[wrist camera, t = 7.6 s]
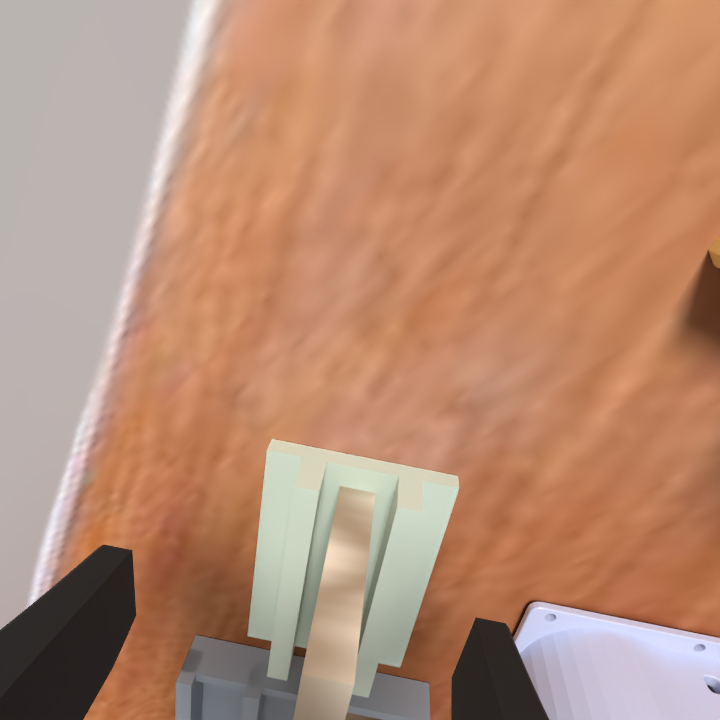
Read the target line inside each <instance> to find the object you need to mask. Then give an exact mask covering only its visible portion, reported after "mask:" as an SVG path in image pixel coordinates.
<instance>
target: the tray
mask: <svg viewBox="0 0 720 720" xmlns="http://www.w3.org/2000/svg"><path fill="white" fill-rule="evenodd" d="M269 657H270V650H266V649H261V648H257V647H252V646H247V645H242V644H237V643H232V642H227V641H223V640H218V639H213V638H208V637H203V636H198V635H196V636H195V638H194V640H193V643H192V645H191V648H190V650H189V652H188V655H187V657H186V659H185V662H184V664H183V667H182V669H181V671H180V674H179V676H178V678H177V681H176V720H293V717H294V712H295V707H296V701H297V696H298V691H299V686H300V680H301V675H302V670H303V665H304V660H305V657H300V656H295V655H293V657H292V661H291V666H290V670H289V675H288V679H287V681H285V680H280V679H276V678H271V677H267V672H268V665H269ZM347 712H348V713H353V714H358V715H362V716H367V717H372V718H377V719H382V720H430V690H429V683H426V682H421V681H417V680H412V679H407V678H402V677H397V676H392V675H388V674H383V673H378V672H376V674H375V677H374V680H373V684H372V687H371V691H370V694H369V697H368V698H367V697H363V696H358V695H353V694H352V696H351V699H350V703H349V707H348V710H347Z"/></svg>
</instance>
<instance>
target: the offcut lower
mask: <svg viewBox="0 0 720 720" xmlns="http://www.w3.org/2000/svg"><path fill="white" fill-rule="evenodd" d="M345 720H382V719H377V718H372V717H367V716H362V715H358V714H353V713H348V712H347V714H346V718H345Z"/></svg>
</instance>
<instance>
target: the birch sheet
mask: <svg viewBox="0 0 720 720" xmlns="http://www.w3.org/2000/svg"><path fill="white" fill-rule="evenodd" d="M374 502H375V493H373V492H368V491H363V490H358V489H353V488H348V487H343V486H340V490H339V495H338V499H337V504H336V509H335V514H334V519H333V524H332V529H331V534H330V538H329V543H328V548H327V553H326V558H325V563H324V568H323V573H322V577H321V582H320V587H319V592H318V597H317V602H316V607H315V612H314V616H313V621H312V626H311V631H310V636H309V641H308V646H307V651H306V656H305V660H304V665H303V670H302V675H301V680H300V686H299V691H298V696H297V701H296V707H295V712H294V717H293V720H345V718H346V714H347V710H348V707H349V703H350V699H351V696H352V692H353V688H354V683H355V674H356V665H357V656H358V647H359V638H360V629H361V620H362V611H363V602H364V593H365V583H366V574H367V565H368V556H369V547H370V538H371V529H372V520H373V511H374Z"/></svg>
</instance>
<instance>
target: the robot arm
mask: <svg viewBox="0 0 720 720" xmlns="http://www.w3.org/2000/svg"><path fill="white" fill-rule="evenodd" d="M135 617H136V606H135V589H134V572H133V556H132V550H128V549H123V548H118V547H113V546H108V545H102V546H101V547H99V548H98V549H96V550H95V551H94V552H93V553H92V554H91V555H90V556H88V557H87V558H86V559H85V560H84V561H83V562H81V563H80V564H79V565H78V566H77V567H76V568H75V569H73V570H72V571H71V572H70V573H69V574H68V575H66V576H65V577H64V578H63V579H62V580H61V581H59V582H58V583H57V584H56V585H55V586H53V587H52V588H51V589H50V590H49V591H47V592H46V593H45V594H44V595H43V596H42V597H40V598H39V599H38V600H37V601H36V602H34V603H33V604H32V605H31V606H29V607H28V608H27V609H26V610H24V611H23V612H22V613H21V614H20V615H18V616H17V617H16V618H15V619H14V620H12V621H11V622H10V623H9V624H7V625H6V626H5V627H3V628H2V629H1V630H0V720H83V719H84V717H85V715H86V714H87V712H88V710H89V708H90V707H91V705H92V703H93V701H94V700H95V698H96V696H97V694H98V693H99V691H100V689H101V687H102V686H103V684H104V682H105V680H106V679H107V677H108V675H109V673H110V671H111V670H112V668H113V666H114V664H115V661H116V659H117V657H118V655H119V653H120V651H121V648H122V646H123V644H124V642H125V639H126V637H127V635H128V633H129V630H130V628H131V626H132V623H133V621H134V619H135ZM452 720H720V638H717V637H712V636H707V635H703V634H698V633H693V632H688V631H683V630H678V629H673V628H668V627H663V626H658V625H653V624H648V623H643V622H638V621H634V620H629V619H624V618H619V617H614V616H609V615H604V614H599V613H594V612H589V611H584V610H579V609H574V608H569V607H565V606H560V605H555V604H550V603H545V602H533V603H531V604H530V605H529V606H528V608H527V610H526V612H525V614H524V616H523V618H522V620H521V622H520V624H519V627H518V629H517V631H516V633H515V635H514V637H512V634H511V632H510V630H509V628H508V626H507V625H506V624H505V623H501V622H496V621H490V620H485V619H480V618H476V619H475V621H474V624H473V626H472V629H471V631H470V634H469V636H468V639H467V641H466V644H465V646H464V649H463V651H462V654H461V656H460V659H459V661H458V664H457V666H456V669H455V671H454V674H453V676H452Z"/></svg>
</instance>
